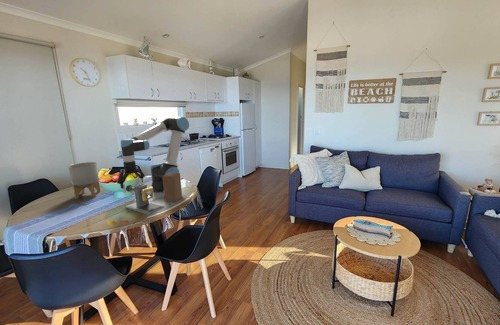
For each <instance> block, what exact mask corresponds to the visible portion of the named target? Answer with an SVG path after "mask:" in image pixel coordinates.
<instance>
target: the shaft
mask: <svg viewBox="0 0 500 325" xmlns="http://www.w3.org/2000/svg"><path fill="white" fill-rule="evenodd" d="M134 187H135V186H133V185H131V184H128V185H126V186H125V190H126V192H128V193H129V192H133V193H135V190H134ZM141 190H143V189H141ZM141 190H140V192H141V193H142V191H141ZM152 194H154V192H153V193H152V191H147V192H146V195H148V196H151V195H152Z"/></svg>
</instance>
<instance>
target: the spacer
mask: <svg viewBox="0 0 500 325" xmlns="http://www.w3.org/2000/svg"><path fill="white" fill-rule="evenodd" d="M141 191H142V199H143V201H146V200H149V201H150V200H151V199H153V198H155V196H154V192H153V187H151V186H149V187H147V188H146V189H143V190H141ZM147 191H152V193H153V194H152V195H151V196H150V195H148V197H146V192H147Z"/></svg>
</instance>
